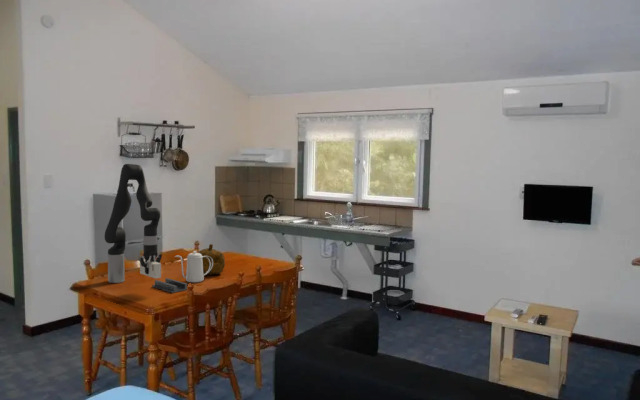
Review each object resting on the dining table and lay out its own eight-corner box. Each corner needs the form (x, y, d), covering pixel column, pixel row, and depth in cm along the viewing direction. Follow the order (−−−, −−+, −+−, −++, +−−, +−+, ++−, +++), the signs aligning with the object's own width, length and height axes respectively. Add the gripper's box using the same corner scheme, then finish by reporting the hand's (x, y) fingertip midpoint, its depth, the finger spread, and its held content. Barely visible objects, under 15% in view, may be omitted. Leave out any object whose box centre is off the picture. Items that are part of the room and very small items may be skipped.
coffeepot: (171, 281, 321) (171, 251, 319) (209, 276, 336) (209, 247, 334) (177, 285, 312) (177, 254, 311) (216, 280, 327) (216, 250, 325)
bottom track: (152, 286, 308) (152, 281, 307) (170, 283, 317) (170, 277, 316) (171, 293, 295) (171, 287, 294) (189, 289, 304) (189, 283, 303)
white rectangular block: (139, 273, 299) (139, 259, 298) (145, 272, 302) (145, 258, 301) (155, 278, 289) (155, 264, 288) (161, 277, 291) (161, 263, 291)
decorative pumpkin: (186, 273, 339) (188, 243, 339) (207, 270, 358) (209, 241, 357) (210, 278, 330) (213, 247, 329) (230, 275, 348) (233, 245, 348)
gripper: (157, 241, 301) (157, 270, 303) (135, 243, 290) (135, 274, 292) (165, 242, 296) (165, 272, 298) (142, 245, 285) (142, 276, 287)
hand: (150, 273), depth 295 cm, fingers closed on white rectangular block, 3 cm apart
